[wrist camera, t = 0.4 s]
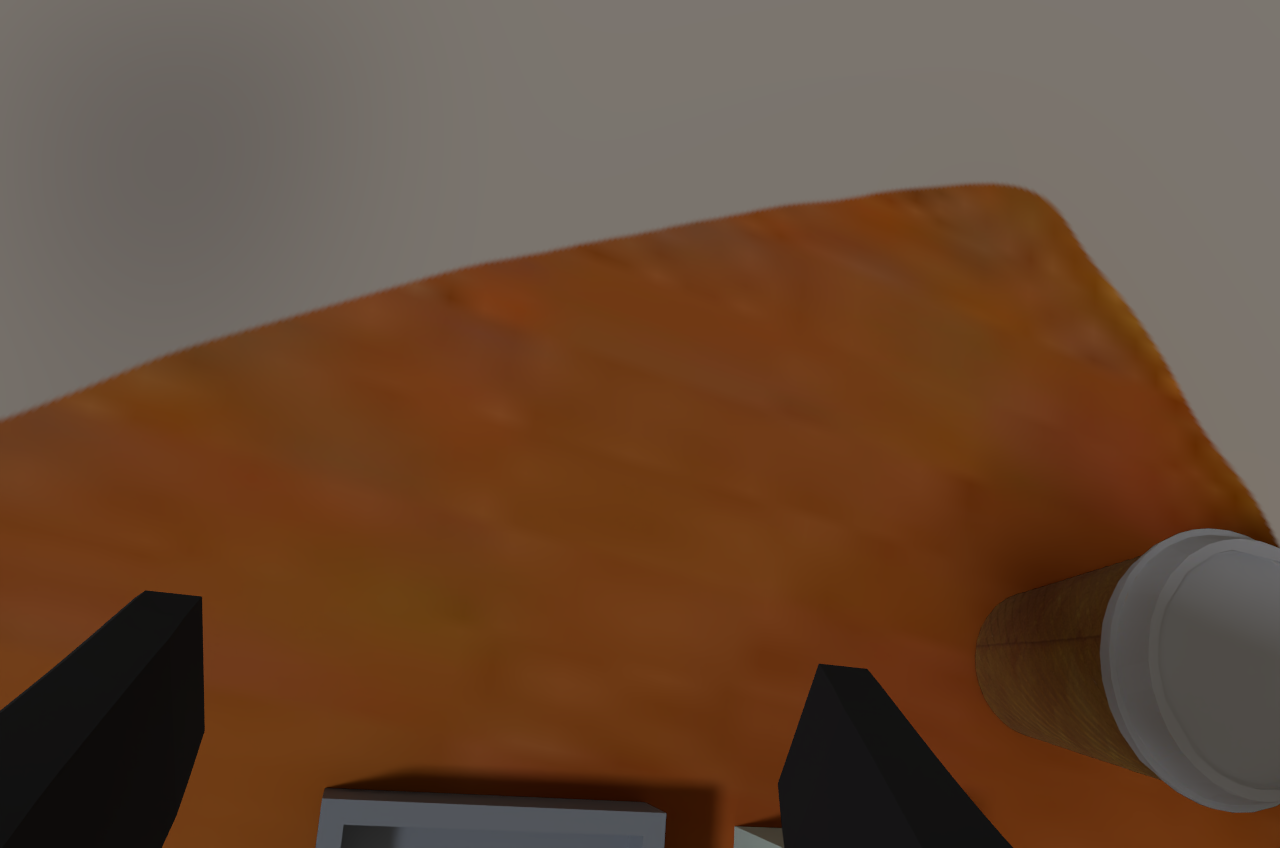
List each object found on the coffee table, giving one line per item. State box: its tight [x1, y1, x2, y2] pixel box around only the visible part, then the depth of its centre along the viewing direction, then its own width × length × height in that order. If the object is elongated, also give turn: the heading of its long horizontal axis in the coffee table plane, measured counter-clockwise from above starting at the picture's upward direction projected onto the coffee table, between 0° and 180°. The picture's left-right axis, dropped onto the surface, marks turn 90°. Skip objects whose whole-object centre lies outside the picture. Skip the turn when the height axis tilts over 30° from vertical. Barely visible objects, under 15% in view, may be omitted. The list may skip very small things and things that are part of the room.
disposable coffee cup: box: [975, 528, 1280, 812], centre depth 41 cm, size 10×10×12 cm
